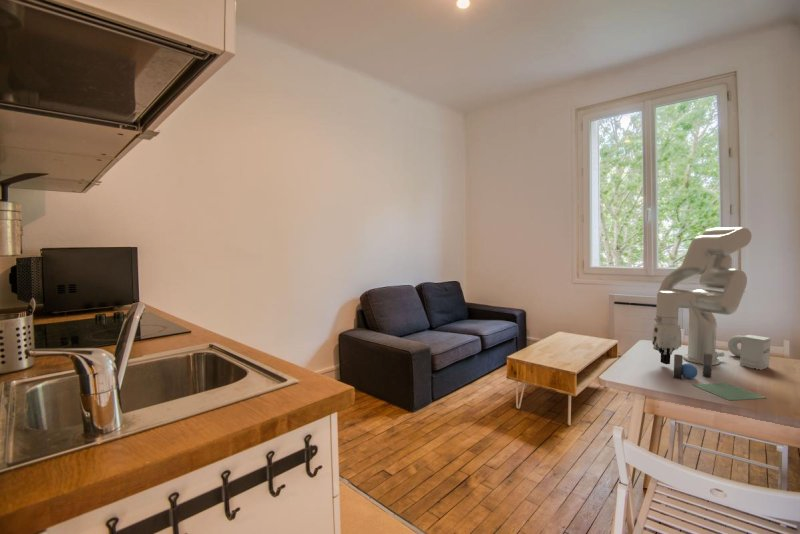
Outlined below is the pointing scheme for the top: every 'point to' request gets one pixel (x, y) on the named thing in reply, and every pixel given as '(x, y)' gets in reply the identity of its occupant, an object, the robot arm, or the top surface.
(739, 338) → the donut
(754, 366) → the supplement box
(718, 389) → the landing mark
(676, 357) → the post
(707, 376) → the post
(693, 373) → the ball
